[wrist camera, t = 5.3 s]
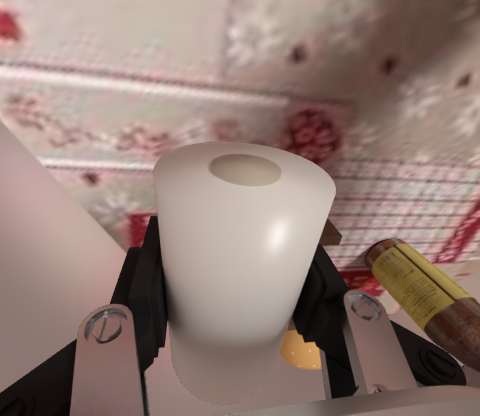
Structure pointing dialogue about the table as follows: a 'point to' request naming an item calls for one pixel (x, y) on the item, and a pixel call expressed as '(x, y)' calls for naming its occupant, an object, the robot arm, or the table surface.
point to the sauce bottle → (429, 299)
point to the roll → (235, 258)
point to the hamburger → (300, 351)
